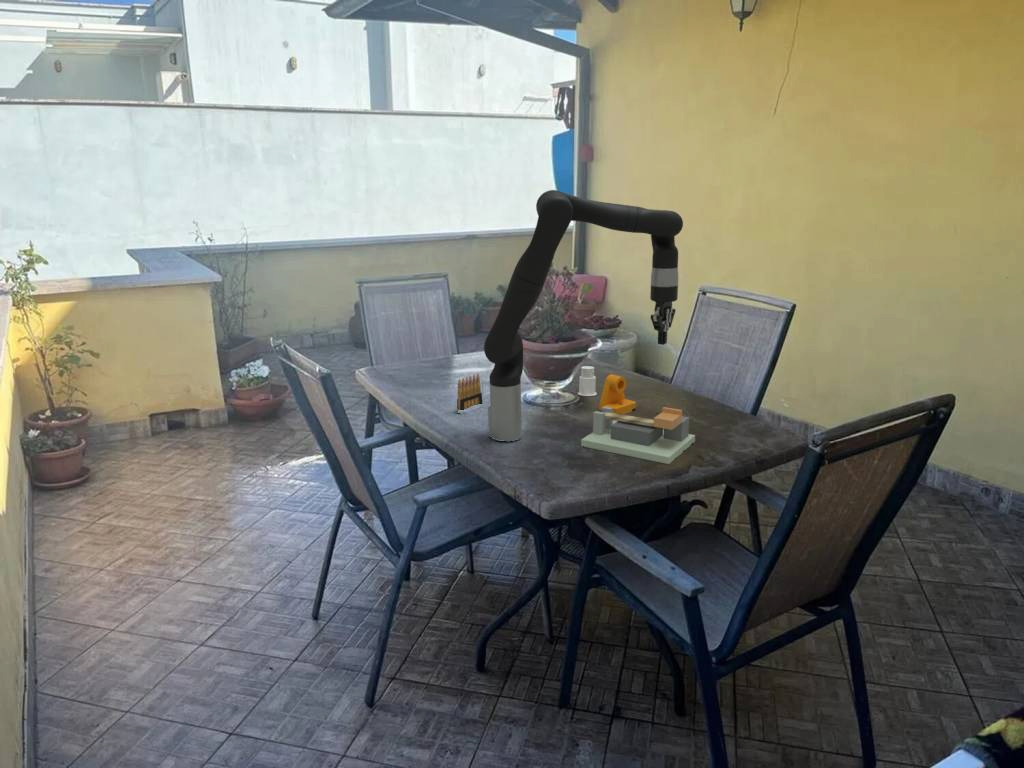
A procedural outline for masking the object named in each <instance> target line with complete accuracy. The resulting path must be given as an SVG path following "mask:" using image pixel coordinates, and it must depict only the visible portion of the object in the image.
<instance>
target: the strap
mask: <svg viewBox="0 0 1024 768" xmlns="http://www.w3.org/2000/svg"><path fill="white" fill-rule="evenodd" d="M604 413H605V419H610V420H614V421H622V422H628V423H634V424H640V425H646V426H652V427H654V419H651V418H645V417H638V416H634V415H628V414H627V415H626V414H623V415H621V414H615V413H609V412H607V411H604ZM658 428H660V427H658ZM663 429H666V428H663ZM670 430H671V429H670Z"/></svg>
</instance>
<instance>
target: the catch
mask: <svg viewBox="0 0 1024 768" xmlns="http://www.w3.org/2000/svg"><path fill="white" fill-rule="evenodd" d="M682 416H683V410H682V409H677V408H671V407H667V406H664V407H662V410H661V412H660V413H659V414H658V415H656V416H655V417H653V420H654V427H660V428H663V429H664V428H666V429H671V430H673V429H674V428H675V427H676V426H678V425H679V424H680V423H682Z"/></svg>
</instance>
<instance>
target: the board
mask: <svg viewBox="0 0 1024 768" xmlns="http://www.w3.org/2000/svg"><path fill="white" fill-rule="evenodd" d="M604 411H607V412H609V413H613V408H611V407H605V406H604V407H602V410H601V411H600V410H599V411H597V410H595V411H594V412H593V413H592V414H593V415H592V417H593V418H592V419H593V421H592V425H593V426H592V428H593V431H592V432H591V433H589V434H588V435H586V436H585V437H583V438H581V440H580V442H581V444H580V446H581V447H583V446H584V447H585V448H588V449H589V448H590V449H593V450H598V451H603V452H607V453H611V454H612V453H614V454H616V455H617V454H618V455H622V456H627V457H632V458H638V459H642V460H647V461H650V462H657V463H661V464H666V465H669V464H671V463H672V462H673V461H675V460H676V459H677V458H678V457H679V456H680V455H682V454H683V453H684V452H685V451H686V450H687V449H688V448H689V447H691V446H692V445H693V444H694V443H696V435H695V434H691V433H689V432H690V417H689V416H683V415H682V423H680V424H679V425H678V426H676V427H675V428H674V429H673V430H670V429H664V428H658V427H652V426H646V425H640V424H634V423H628V422H622V421H616V420H610V419H605V413H604ZM692 443H693V444H692ZM691 444H692V445H691ZM684 450H685V451H684ZM683 451H684V452H683ZM675 458H676V459H675Z"/></svg>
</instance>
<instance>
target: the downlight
mask: <svg viewBox="0 0 1024 768" xmlns="http://www.w3.org/2000/svg"><path fill="white" fill-rule="evenodd" d="M580 369H581V371H580V372H581V373H580V375H579V381H578V383H579V384H578V385H579V386H578V387H579V388H578V389H579V390H578V391H577V395H579V396H582V397H594V396H597V395H598V393H597V392H596V387H597V386H596V383H597V381H596V380H597V379H596V378H597V377H596V376H595V367H594V366H589V365H585V366H584V365H583V366H581V368H580Z"/></svg>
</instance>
